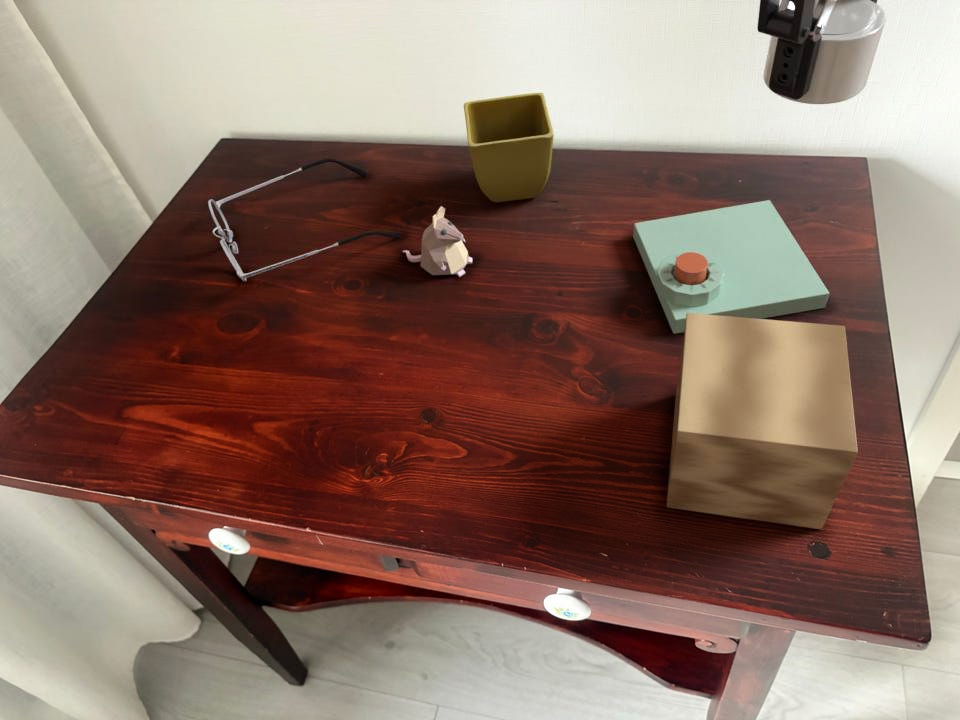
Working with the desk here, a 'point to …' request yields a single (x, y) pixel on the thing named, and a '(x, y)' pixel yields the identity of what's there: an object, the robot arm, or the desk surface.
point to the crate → (762, 420)
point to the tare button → (690, 268)
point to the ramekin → (841, 52)
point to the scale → (730, 264)
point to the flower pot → (510, 145)
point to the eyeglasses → (244, 276)
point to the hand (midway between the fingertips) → (816, 68)
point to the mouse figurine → (442, 248)
